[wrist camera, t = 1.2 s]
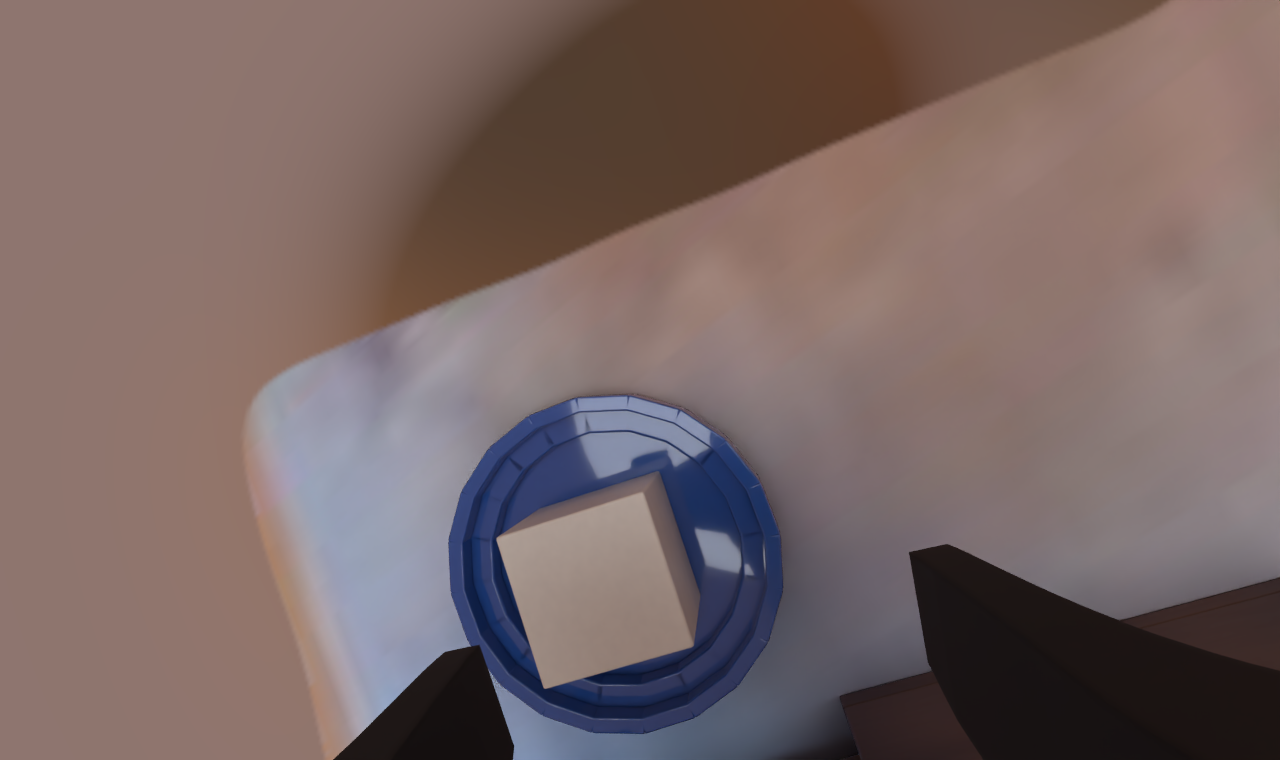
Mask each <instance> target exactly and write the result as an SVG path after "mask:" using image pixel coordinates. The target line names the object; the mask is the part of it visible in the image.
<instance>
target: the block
mask: <svg viewBox="0 0 1280 760" xmlns="http://www.w3.org/2000/svg"><path fill="white" fill-rule="evenodd" d="M497 544H498V547H499V550H500V553H501V556H502V559H503V562H504V566H505V569H506V572H507V575H508V578H509V581H510V584H511V587H512V591H513V594H514V597H515V600H516V603H517V606H518V609H519V612H520V616H521V619H522V622H523V625H524V628H525V631H526V634H527V637H528V641H529V644H530V647H531V650H532V653H533V656H534V659H535V663H536V666H537V669H538V672H539V675H540V678H541V681H542V684H543V687H544V689H547V688H551V687H554V686H558V685H561V684H565V683H568V682H572V681H575V680H579V679H582V678H586V677H589V676H593V675H597V674H600V673H604V672H607V671H611V670H614V669H618V668H621V667H625V666H628V665H632V664H635V663H639V662H642V661H646V660H649V659H653V658H656V657H660V656H663V655H667V654H670V653H674V652H677V651H681V650H684V649H688V648H691V647H693V646H694V640H695V632H696V625H697V618H698V610H699V603H700V592H699V589H698V586H697V583H696V580H695V577H694V574H693V571H692V568H691V565H690V562H689V559H688V556H687V553H686V550H685V547H684V544H683V541H682V538H681V535H680V532H679V529H678V526H677V523H676V520H675V517H674V514H673V511H672V508H671V505H670V502H669V499H668V496H667V493H666V490H665V487H664V484H663V480H662V477H661V474H660V472H659V471H656V472H653V473H650V474H647V475H643V476H640V477H637V478H634V479H631V480H628V481H625V482H621V483H618V484H615V485H612V486H609V487H606V488H603V489H600V490H596V491H593V492H590V493H587V494H584V495H581V496H578V497H574V498H571V499H568V500H565V501H562V502H559V503H556V504H553V505H549V506H546V507H543V508H540V509H538V510H537V511H535V512H534V513H532V514H531V515H529V516H528V517H526V518H525V519H524V520H522V521H521V522H519V523H518V524H516V525H515V526H513V527H512V528H510V529H509V530H507V531H506V532H504V533H503V534H501V535H500V536H498V537H497Z"/></svg>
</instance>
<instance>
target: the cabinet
mask: <svg viewBox="0 0 1280 760" xmlns="http://www.w3.org/2000/svg"><path fill="white" fill-rule="evenodd" d="M1121 622H1124V623H1126V624H1129V625H1132V626H1134V627H1137V628H1140V629H1143V630H1146V631H1148V632H1151V633H1154V634H1157V635H1160V636H1163V637H1166V638H1169V639H1172V640H1175V641H1178V642H1182V643H1185V644H1188V645H1191V646H1194V647H1197V648H1200V649H1203V650H1206V651H1210V652H1213V653H1216V654H1219V655H1223V656H1226V657H1230V658H1234V659H1237V660H1241V661H1244V662H1248V663H1251V664H1255V665H1259V666H1263V667H1267V668H1271V669H1275V670H1279V671H1280V579H1276V580H1272V581H1269V582H1265V583H1261V584H1257V585H1254V586H1250V587H1246V588H1242V589H1239V590H1235V591H1231V592H1227V593H1224V594H1220V595H1216V596H1213V597H1209V598H1205V599H1201V600H1198V601H1194V602H1190V603H1186V604H1183V605H1179V606H1175V607H1171V608H1168V609H1164V610H1160V611H1157V612H1153V613H1149V614H1145V615H1142V616H1138V617H1134V618H1130V619H1127V620H1123V621H1121ZM840 700H841V703H842V706H843V709H844V712H845V715H846V718H847V721H848V724H849V727H850V730H851V733H852V736H853V739H854V742H855V745H856V748H857V751H858V754H859V756H860V758H861V760H983V759H982V757H981V756H980V754H979V753H978V751H977V750H976V748H975V747H974V745H973V743H972V742H971V740H970V739H969V737H968V736H967V734H966V733H965V731H964V730H963V728H962V727H961V725H960V724H959V722H958V720H957V719H956V717H955V715H954V713H953V711H952V709H951V707H950V705H949V703H948V701H947V699H946V697H945V695H944V694H943V692H942V689H941V687H940V685H939V683H938V681H937V679H936V677H935V675H934V673H933V672H929V673H925V674H921V675H918V676H914V677H910V678H906V679H903V680H899V681H895V682H892V683H888V684H884V685H880V686H877V687H873V688H869V689H865V690H862V691H858V692H854V693H850V694H847V695H843V696H840Z"/></svg>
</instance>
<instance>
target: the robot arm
mask: <svg viewBox="0 0 1280 760" xmlns="http://www.w3.org/2000/svg"><path fill="white" fill-rule="evenodd" d="M909 555H910V560H911V566H912V572H913V578H914V584H915V590H916V595H917V601H918V607H919V613H920V619H921V625H922V630H923V636H924V642H925V648H926V654H927V660H928V663H929V665H930V667H931V669H932V671H933V673H934V675H935V677H936V679H937V681H938V683H939V685H940V687H941V689H942V692H943V694H944V695H945V697H946V699H947V701H948V703H949V705H950V707H951V709H952V711H953V713H954V715H955V717H956V719H957V720H958V722H959V724H960V725H961V727H962V728H963V730H964V731H965V733H966V734H967V736H968V737H969V739H970V740H971V742H972V743H973V745H974V747H975V748H976V750H977V751H978V753H979V754H980V756H981V757H982V759H983V760H1280V671H1279V670H1275V669H1271V668H1267V667H1263V666H1259V665H1255V664H1251V663H1248V662H1244V661H1241V660H1237V659H1234V658H1230V657H1226V656H1223V655H1219V654H1216V653H1213V652H1210V651H1206V650H1203V649H1200V648H1197V647H1194V646H1191V645H1188V644H1185V643H1182V642H1178V641H1175V640H1172V639H1169V638H1166V637H1163V636H1160V635H1157V634H1154V633H1151V632H1148V631H1146V630H1143V629H1140V628H1137V627H1134V626H1132V625H1129V624H1126V623H1124V622H1121V621H1119V620H1116V619H1114V618H1111V617H1109V616H1106V615H1104V614H1101V613H1099V612H1096V611H1094V610H1091V609H1089V608H1086V607H1084V606H1081V605H1079V604H1077V603H1074V602H1072V601H1070V600H1067V599H1065V598H1063V597H1060V596H1058V595H1056V594H1054V593H1051V592H1049V591H1047V590H1045V589H1042V588H1040V587H1038V586H1036V585H1034V584H1032V583H1029V582H1027V581H1025V580H1023V579H1021V578H1019V577H1017V576H1015V575H1012V574H1010V573H1008V572H1006V571H1004V570H1002V569H1000V568H998V567H996V566H994V565H992V564H990V563H988V562H985V561H983V560H981V559H979V558H977V557H975V556H973V555H971V554H969V553H967V552H964V551H962V550H960V549H958V548H956V547H953V546H951V545H948V544H945V545H941V546H936V547H931V548H927V549H922V550H918V551H913V552H909ZM513 752H514V744H513V742H512V739H511V736H510V733H509V730H508V727H507V724H506V721H505V718H504V715H503V712H502V709H501V706H500V703H499V700H498V697H497V694H496V692H495V689H494V686H493V683H492V680H491V677H490V674H489V671H488V668H487V665H486V662H485V659H484V656H483V653H482V650H481V647H480V645H476V646H471V647H466V648H462V649H457V650H452V651H448V652H445V653H443V654H442V655H441V656H440V657H439V658H437V659H436V660H435V661H434V662H433V663H432V664H431V665H430V666H428V667H427V668H426V669H425V670H424V671H423V672H422V673H421V674H420V675H419V676H418V677H417V678H416V679H415V680H414V681H413V682H412V683H411V684H410V685H409V686H408V687H407V688H406V689H405V690H404V691H403V692H402V693H401V694H400V695H399V696H398V697H397V698H396V699H395V700H394V701H393V702H392V703H391V704H390V705H389V706H388V707H387V708H386V709H385V710H384V711H383V712H382V713H381V714H380V715H379V716H378V717H377V718H376V719H375V720H374V721H373V722H372V723H371V724H370V725H369V726H368V727H367V728H366V729H365V730H364V731H363V732H362V733H361V734H360V735H359V736H358V737H357V738H356V739H355V740H354V741H353V742H352V743H351V744H350V745H348V746H347V747H346V748H345V749H344V750H343V751H342V752H341V753H340V754H339V755H338V756H337V757H336V758H334V759H333V760H513Z"/></svg>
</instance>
